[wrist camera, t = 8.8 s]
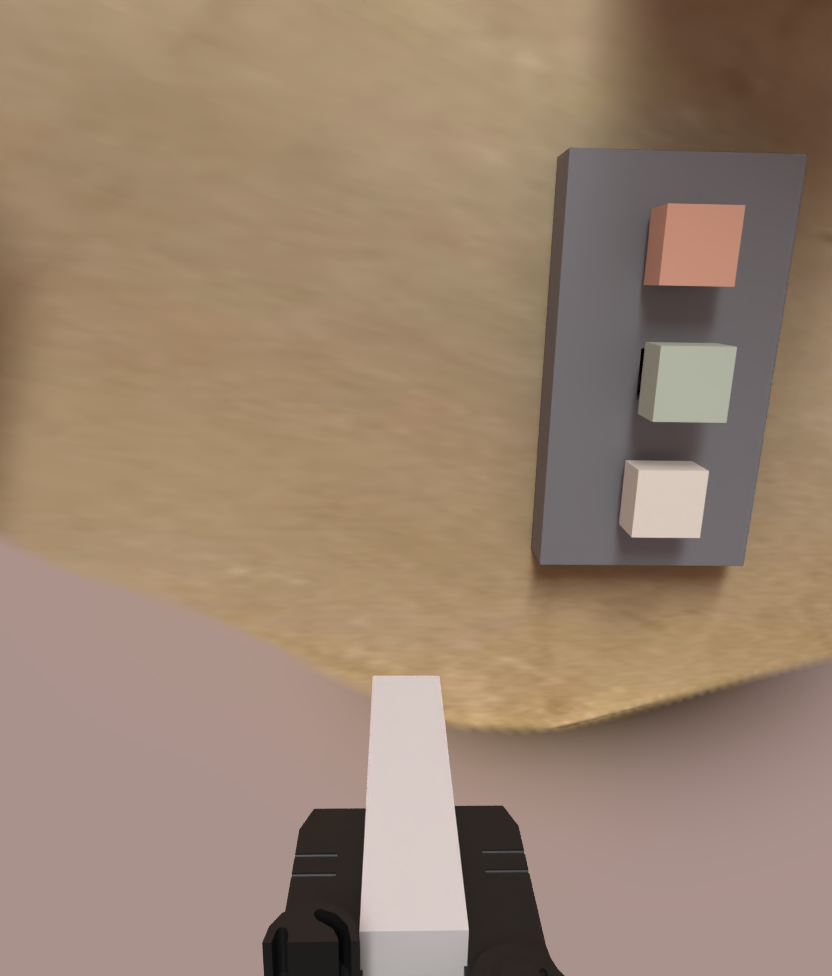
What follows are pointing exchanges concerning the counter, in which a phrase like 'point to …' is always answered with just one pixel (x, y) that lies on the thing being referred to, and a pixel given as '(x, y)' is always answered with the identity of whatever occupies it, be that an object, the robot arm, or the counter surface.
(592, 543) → the console
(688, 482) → the key ivory
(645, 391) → the key sage
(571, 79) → the counter surface
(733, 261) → the key terracotta
